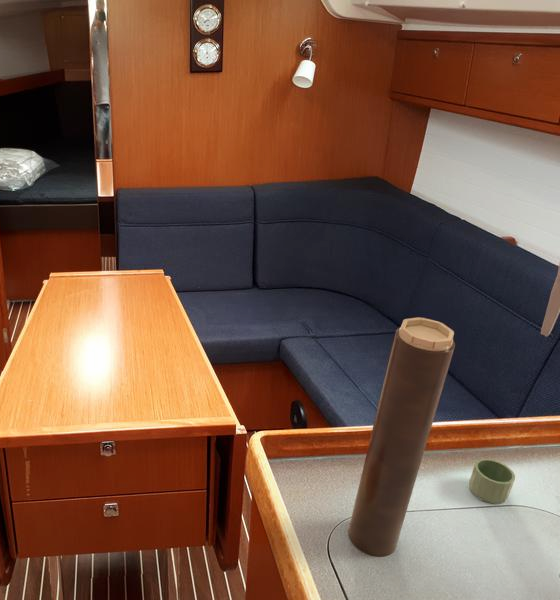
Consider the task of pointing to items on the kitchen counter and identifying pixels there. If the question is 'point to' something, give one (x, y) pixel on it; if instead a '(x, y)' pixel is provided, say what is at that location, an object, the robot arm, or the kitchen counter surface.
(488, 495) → the olive short hollow cylinder
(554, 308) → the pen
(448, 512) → the kitchen counter surface
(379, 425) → the pedestal
